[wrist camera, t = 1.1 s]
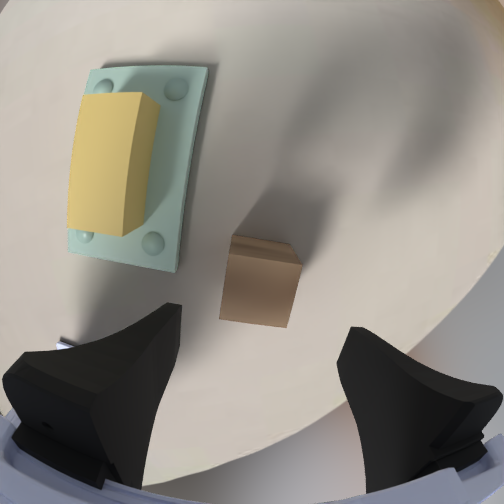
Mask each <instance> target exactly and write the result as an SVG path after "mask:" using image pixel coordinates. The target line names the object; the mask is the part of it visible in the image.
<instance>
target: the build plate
mask: <svg viewBox="0 0 504 504" xmlns="http://www.w3.org/2000/svg"><path fill="white" fill-rule="evenodd" d="M208 74H209V71H208V68H207V67H198V66H174V65H149V66H126V67H113V68H102V69H94V70H90V74H89V77H88V81H87V84H86V88H85V92H84V95H86V94H99V93H117V92H143V93H144V94H146V95H147V96H149V97H150V98H151V99H153V100H154V101H155V102H157V103H158V104H159V105H161V107H160V112H159V117H158V122H157V127H156V132H155V138H154V144H153V150H152V156H151V163H150V169H149V177H148V185H147V193H146V202H145V213H144V224H143V225H142V226H140V227H139V228H137V229H135V230H133V231H132V232H130V233H128V234H127V235H125V236H123V237H119V236H113V235H107V234H101V233H95V232H89V231H83V230H77V229H71V228H68V252H70V253H75V254H79V255H84V256H89V257H94V258H99V259H104V260H109V261H114V262H119V263H124V264H129V265H134V266H140V267H145V268H150V269H156V270H161V271H167V272H173V273H175V272H176V270H177V269H178V262H179V251H180V241H181V232H182V223H183V215H184V207H185V199H186V192H187V185H188V178H189V172H190V166H191V159H192V153H193V148H194V142H195V136H196V131H197V126H198V121H199V116H200V111H201V106H202V101H203V96H204V92H205V87H206V83H207V79H208Z"/></svg>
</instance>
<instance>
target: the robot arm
mask: <svg viewBox="0 0 504 504" xmlns="http://www.w3.org/2000/svg"><path fill="white" fill-rule="evenodd" d="M181 312H182V305H178V304H173V303H168V302H167V303H166V304H164V305H163V306H161V307H160V308H158V309H157V310H155V311H154V312H152V313H151V314H149V315H148V316H146V317H144V318H143V319H141V320H140V321H138V322H136V323H134V324H133V325H131V326H129V327H127V328H125V329H123V330H121V331H119V332H117V333H115V334H113V335H110V336H108V337H105V338H103V339H100V340H97V341H94V342H90V343H87V344H83V345H80V346H76V347H74V346H72V345H69V344H66V343H63V342H61V341H59V342H57V344H56V346H57V350H51V351H35V352H24V353H23V354H22V355H21V356H20V358H19V359H18V360H17V361H16V362H15V363H14V364H13V365H12V366H11V367H10V368H9V369H8V371H7V372H6V373H5V374H4V375H3V378H2V382H3V388H4V391H5V393H6V396H7V398H8V399H9V401H10V403H11V405H12V407H13V408H12V409H11V410H10V411H9V413H8V414H7V415H6V416H5V417H4V416H2V415H1V414H0V504H210V503H202V502H195V501H189V500H183V499H177V498H172V497H167V496H163V495H158V494H154V493H150V492H146V491H142V490H141V488H142V481H143V474H144V468H145V462H146V457H147V451H148V447H149V442H150V437H151V433H152V428H153V424H154V420H155V416H156V412H157V409H158V406H159V403H160V401H161V398H162V396H163V393H164V391H165V388H166V386H167V383H168V381H169V378H170V376H171V373H172V371H173V368H174V366H175V362H176V358H177V354H178V350H179V346H180V328H181ZM337 368H338V373H339V377H340V381H341V384H342V387H343V389H344V392H345V395H346V397H347V400H348V402H349V405H350V408H351V410H352V413H353V415H354V418H355V421H356V424H357V427H358V432H359V436H360V440H361V446H362V452H363V458H364V465H365V476H366V494H364V495H359V496H355V497H351V498H348V499H343V500H338V501H331V502H324V503H317V504H480V503H481V502H483V501H484V500H486V499H487V498H488V497H489V496H491V495H492V494H493V493H495V492H496V491H497V490H498V489H499V488H501V487H502V486H503V485H504V436H503V435H502V434H498V435H497V436H495V437H493V438H492V439H490V440H488V441H487V442H486V443H485V444H484V445H483V444H482V442H481V439H483V438H484V434H483V433H482V430H483V428H484V427H485V426H486V425H487V424H488V422H489V421H490V420H491V418H492V417H493V416H494V415H495V413H496V412H497V410H498V409H499V407H500V405H501V403H502V400H503V395H502V393H501V392H500V391H499V390H498V389H497V388H496V387H494V386H489V385H483V384H477V383H471V382H467V381H464V380H460V379H457V378H453V377H451V376H448V375H445V374H442V373H440V372H438V371H435V370H433V369H431V368H429V367H427V366H425V365H423V364H421V363H419V362H417V361H415V360H414V359H412V358H411V357H409V356H407V355H406V354H404V353H402V352H401V351H399V350H398V349H396V348H395V347H393V346H392V345H390V344H389V343H387V342H386V341H384V340H383V339H381V338H380V337H378V336H377V335H375V334H374V333H372V332H371V331H369V330H367V329H365V328H363V327H351V328H350V331H349V333H348V336H347V338H346V341H345V343H344V346H343V348H342V351H341V353H340V356H339V358H338V360H337Z"/></svg>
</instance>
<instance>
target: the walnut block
mask: <svg viewBox="0 0 504 504" xmlns="http://www.w3.org/2000/svg"><path fill="white" fill-rule="evenodd" d="M301 270H302V263H301V262H300V260H299V258H298V257H297V255H296V254H295V252H294V250H293V249H292V247H291V245H290V244H286V243H280V242H274V241H268V240H262V239H256V238H249V237H243V236H237V235H232V239H231V245H230V250H229V256H228V262H227V269H226V275H225V282H224V289H223V296H222V302H221V309H220V316H219V319H222V320H229V321H236V322H243V323H250V324H258V325H266V326H274V327H283V328H287V324H288V321H289V317H290V313H291V309H292V305H293V302H294V298H295V294H296V290H297V286H298V282H299V278H300V274H301Z"/></svg>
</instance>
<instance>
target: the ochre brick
mask: <svg viewBox="0 0 504 504" xmlns="http://www.w3.org/2000/svg"><path fill="white" fill-rule="evenodd" d="M160 107H161V105H159V104H158V103H157V102H155V101H154V100H153V99H151V98H150V97H149V96H147V95H146V94H144V93H143V92H117V93H99V94H86V95H83V97H82V101H81V106H80V110H79V115H78V120H77V125H76V131H75V137H74V143H73V150H72V158H71V167H70V177H69V189H68V208H67V228H71V229H77V230H83V231H89V232H95V233H101V234H107V235H113V236H119V237H123V236H125V235H127V234H128V233H130V232H132V231H133V230H135V229H137V228H139V227H140V226H142V225H143V224H144V213H145V202H146V193H147V185H148V177H149V169H150V163H151V156H152V150H153V144H154V138H155V132H156V127H157V122H158V117H159V112H160Z"/></svg>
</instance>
